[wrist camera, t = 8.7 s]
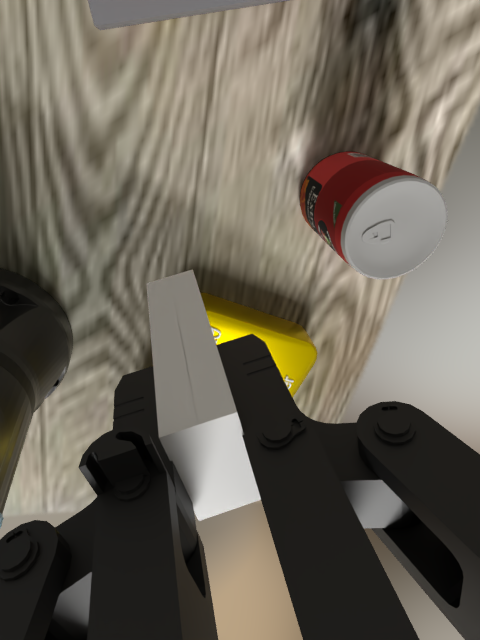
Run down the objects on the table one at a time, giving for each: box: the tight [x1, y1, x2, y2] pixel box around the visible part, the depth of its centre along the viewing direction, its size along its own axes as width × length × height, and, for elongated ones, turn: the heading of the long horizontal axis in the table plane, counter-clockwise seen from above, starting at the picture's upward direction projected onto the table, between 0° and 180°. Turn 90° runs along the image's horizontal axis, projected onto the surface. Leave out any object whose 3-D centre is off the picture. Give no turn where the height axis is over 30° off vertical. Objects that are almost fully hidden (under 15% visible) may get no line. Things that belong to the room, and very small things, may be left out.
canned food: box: [300, 152, 448, 279], centre depth 35 cm, size 8×8×11 cm
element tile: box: [200, 293, 317, 398], centre depth 46 cm, size 15×15×5 cm
